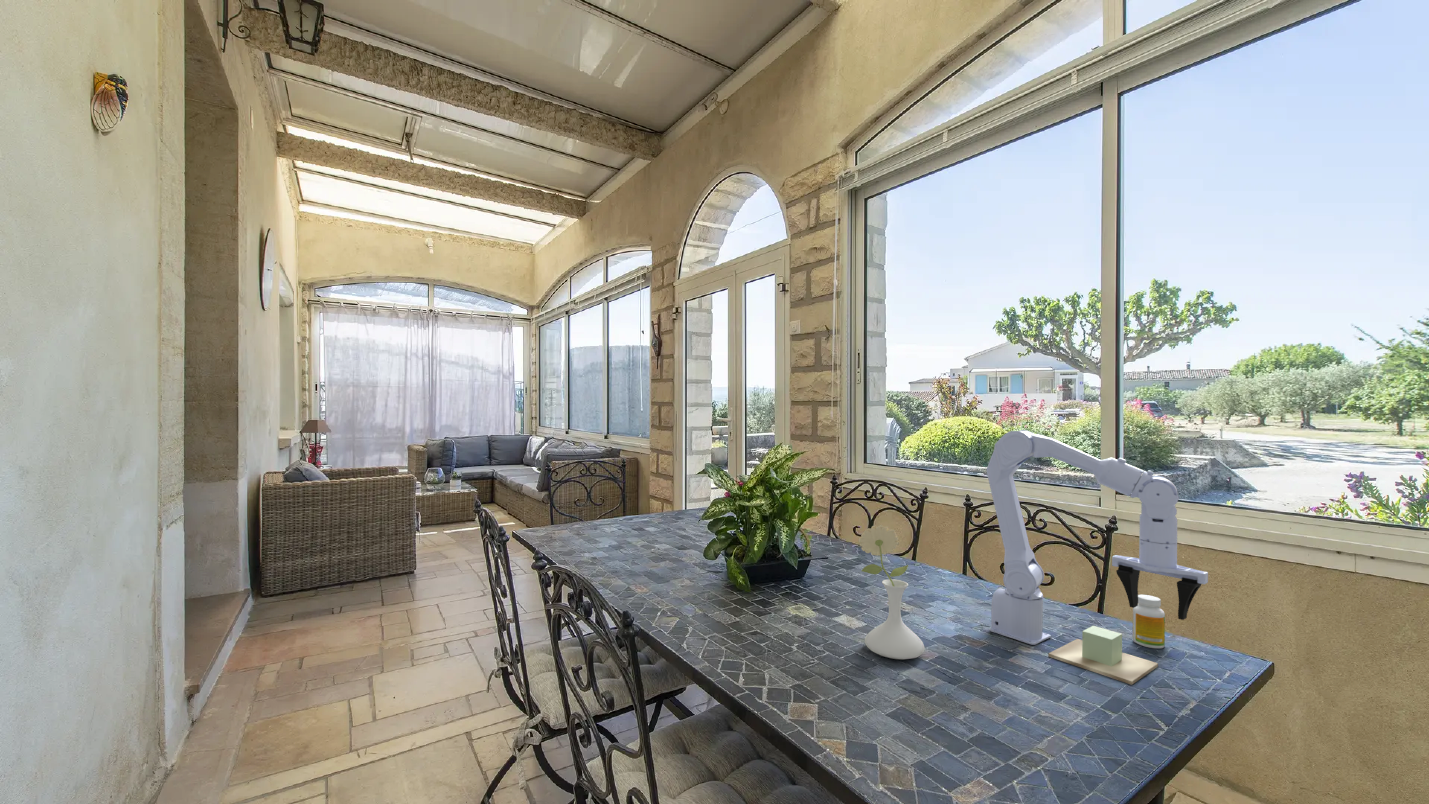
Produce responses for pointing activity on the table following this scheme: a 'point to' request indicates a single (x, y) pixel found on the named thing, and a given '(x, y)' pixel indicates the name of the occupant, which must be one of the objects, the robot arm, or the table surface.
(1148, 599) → the supplement bottle
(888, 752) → the table surface
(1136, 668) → the wooden board
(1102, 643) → the sage cube
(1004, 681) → the table surface
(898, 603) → the flower in vase
